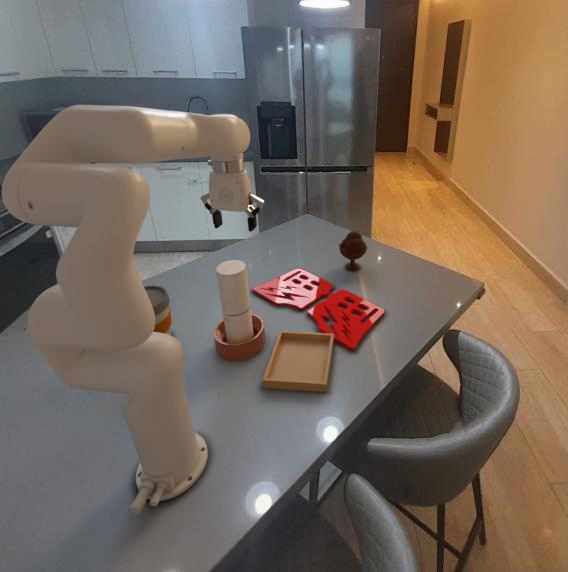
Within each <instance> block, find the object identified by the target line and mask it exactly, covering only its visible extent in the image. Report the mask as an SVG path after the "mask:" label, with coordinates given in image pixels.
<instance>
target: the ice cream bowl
mask: <svg viewBox="0 0 568 572" xmlns="http://www.w3.org/2000/svg"><path fill="white" fill-rule="evenodd" d="M367 245H368V244H367V243H365V241H364V239H363V236H362V233H360V232H359V231H356V230H352V231H349V232H348V233H347V234H346V236H345V238H343V239H342V241H341V242H340V243H339V244H338V247H339V252H340V255H341V256H342V257H344V258H346V259H347V260H349V261H350V262H349V263H347V264H346V265H345V269H346V270H347V271H350V272H356V271H358V270H360V266H359V264H358V263H356V260H360V259H361V258H362V257H363V256H364V255H365V254H366V253H367V251H368V246H367Z"/></svg>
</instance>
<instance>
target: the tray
mask: <svg viewBox="0 0 568 572" xmlns="http://www.w3.org/2000/svg"><path fill="white" fill-rule="evenodd" d="M334 342H335V341H334V334H328V333H321V332H311V331H310V332H309V331H296V330H295V331H292V330H279V332H278V335H277V338H276V340H275V343H274V346H273V349H272V351H271V355H270V357H269V360H268V364H267V366H266V369H265V371H264V374H263V377H262V388H263V389H273V390H274V389H275V390H288V391H289V390H291V391H304V392H305V391H306V392H317V393H327V392H328V384H329V377H330V372H331V371H330V370H331V363H332V357H333V350H334Z"/></svg>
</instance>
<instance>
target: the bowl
mask: <svg viewBox="0 0 568 572" xmlns="http://www.w3.org/2000/svg"><path fill="white" fill-rule="evenodd" d="M251 316H252V325H253V334H254V338H252V339H250V340H249V341H246V342H243V343H238V344H227V337H226V330H225V324H224V318H222V319H221V320H220V321H219V322H218V323H216V325H215V327H214V330H213V340H214V345H215V351H216V354H217V355H218V357H220V358H221V360H224V361H227V362H230V363H231V362H232V363H237V362H238V363H239V362H244V361H247V360H250V359H252V358H254V357H256V356H257V355H258V354H259V353H261V351H262V350H263V349H264V348H265V344H266V331H265V322H264V320H263V318H262V317H261V316H259V315H258V314H255V313H252V312H251Z"/></svg>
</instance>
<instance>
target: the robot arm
mask: <svg viewBox="0 0 568 572" xmlns="http://www.w3.org/2000/svg"><path fill="white" fill-rule="evenodd" d="M250 143H251V130H250V128H249V126H248V124H247V123H246V122H245V121H244V120H243V119H241V118H239V117H238V116H236V114H235V115H234V114H231V113H215V114H211V115H209V114H202V113H195V112H189V111H188V112H187V111H181V110H180V111H178V110H171V109H170V110H168V109H160V108H159V109H158V108H152V107H142V106H131V105H107V104H106V105H103V104H102V105H101V104H73V105H71V106H68V107H66V108H64V109H62V110H61V111H60V112H58V113H57V114H56V115H55V116H53V118H51V120H49V121H48V122H47V123H46V124H45V125H44V126H43V127H42V129H41V130H40V131H39V133H38V134H37V135H36V136H35V137H34V138H33V140H32V141H31V142H30V143H29V144H28V146H27V147H26V148H25V149H24V151H23V152H22V153H21V154H20V155H19V157H18V158H17V159H16V160H15V161H14V163H13V164H12V165H11V167H10V168H9V169H8V171H7V172H6V173H5V177H4V178H3V182H2V185H1V200H2V202H3V205H4V207H5V208H6V210H7V211H8V213H9V214H10V215H12V217H14V218H16V219H17V220H19V221H21V222H24V223H26V224H30V225H34V226H40V227H41V226H43V227H58V228H59V227H61V228H76V229H75V231H74V233H73V235H72V237H71V239H70V241H69V242H68V244H67V246H66V248H65V249H64V251H63V252H62V254H61V256H60V258H59V260H58V262H57V266H56V269H55V277H56V282H57V284H55V285H53V286H50V287H49V288H46V290H43V292H42V293H40V294H39V295H38V296H37V298H36V299H35V300H34V301H33V303H32V304H31V307H30V309H29V312H28V315H27V316H28V317H27V332H28V335H29V338H30V340H31V342H32V344H33V346H34V347H35V348H36V350H37V351H38V352H39V353H40V355H41V356H42V357H43V358H44V359H45V361H46V362H47V363H48V365H49V366H50V367H51V369H52V370H53V371H54V372H55V373H56V374H57V376H58V377H59V378H60V379H61V380H62V381H63V382H64V383H65V384H67V385H68V386H69V387H71V388H73V389H77V390H83V391H93V392H106V393H112V394H123V395H128V397H129V396H130V397H129V398H128V400H127V402H126V404H125V406H124V407H125V408H124V419H125V423H126V425H127V428H128V430H129V433H130V436H131V439H132V442H133V445H134V448H135V451H136V454H137V456H138V460H139V463H138V466H137V468H136V472H135V485H136V487H137V490H138V493H137V495H136V497H134V500H133V502H132V504H131V505H130V506H129V512H131V513H132V514H135V515H139V514H140V513H142V511H143V509H144V507H145V505H146V504H147V502H148V501H147V500H149V505H150V506H152V507H157V506H158V505H159V503H160V501H161V502H162V501H166V500H167V501H168V500H170V499H173V498H176V497H178V496H179V495H182V494H183V493H184V492H186V491H187V490H189V489H190V488H191V487H192V486H193V485H194V484H196V482H197V481H198V479H199V478H200V477H201V475H202V474H203V472H204V470H205V467H206V465H207V461H208V458H209V450H208V445H207V442H206V441H205V439H204V437H202V436H201V435H200V434H199V433H197V432H195V428H194V424H193V419H192V414H191V411H190V406H189V402H188V397H187V393H186V388H185V384H184V375H183V371H184V370H183V367H184V351H183V346H182V344H181V342H180V340H179V339H178V338H176V337H174V336H173V335H171V334H170V335H168V334H164V333H159V332H153V330H154V327H155V313H154V310H153V307H152V304H151V302H150V299H149V297H148V295H147V293H146V290H145V288H144V286H145V285H144V284H143V282H142V279H141V277H140V275H139V273H138V269H137V267H136V265H135V260H134V250H135V247H136V246H135V245H136V243H137V240H138V237H139V234H140V231H141V229H142V227H143V225H144V222H145V219H146V216H147V215H148V211H149V209H150V205H151V189H150V186H149V183H148V181H147V180H146V178H145V177H144V176H143V174H141V173H140V172H139V171H136V170H134V169H132V168H129V167H126V166H120V165H113V164H124V165H125V164H127V165H142V164H150V163H159V162H164V161H172V160H173V161H174V160H183V159H185V160H186V159H200V158H207V157H208V158H209V157H210V159H208V160H207V165H208V166H211V169H212V170H210V171H209V179H208V193H206V194H203V195H202V196H200V201H201V202H202V204H203V205H204V207H205V209H207V210H208V211H209V214H210V215H211V217H212V223H213V226H214V229H218V228H220V227H221V226H223V216H222V211H225V212H226V211H227V212H236V213H243V212H244V213H245V214H246V215H247V216H248V217H247V218H246V219H247V228H248V230H247V231H248V232H250V233H252V232H253V231H254V230H255V229H256V228H257V226H258V223H257V215H258V214H259V212H261V211H262V210H263V207H264V205H265V203H266V202H265V200H264V199H262V198H261V197H258V196H257V195H255V194H253V191H252V184H251V180H250V177H249V173H248V171H247V170H246V169H245V161H244V153H245V152H246V151H247V150H248V148H249V146H250ZM254 203H255V204H256V207H254V206H253V205H254Z"/></svg>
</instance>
